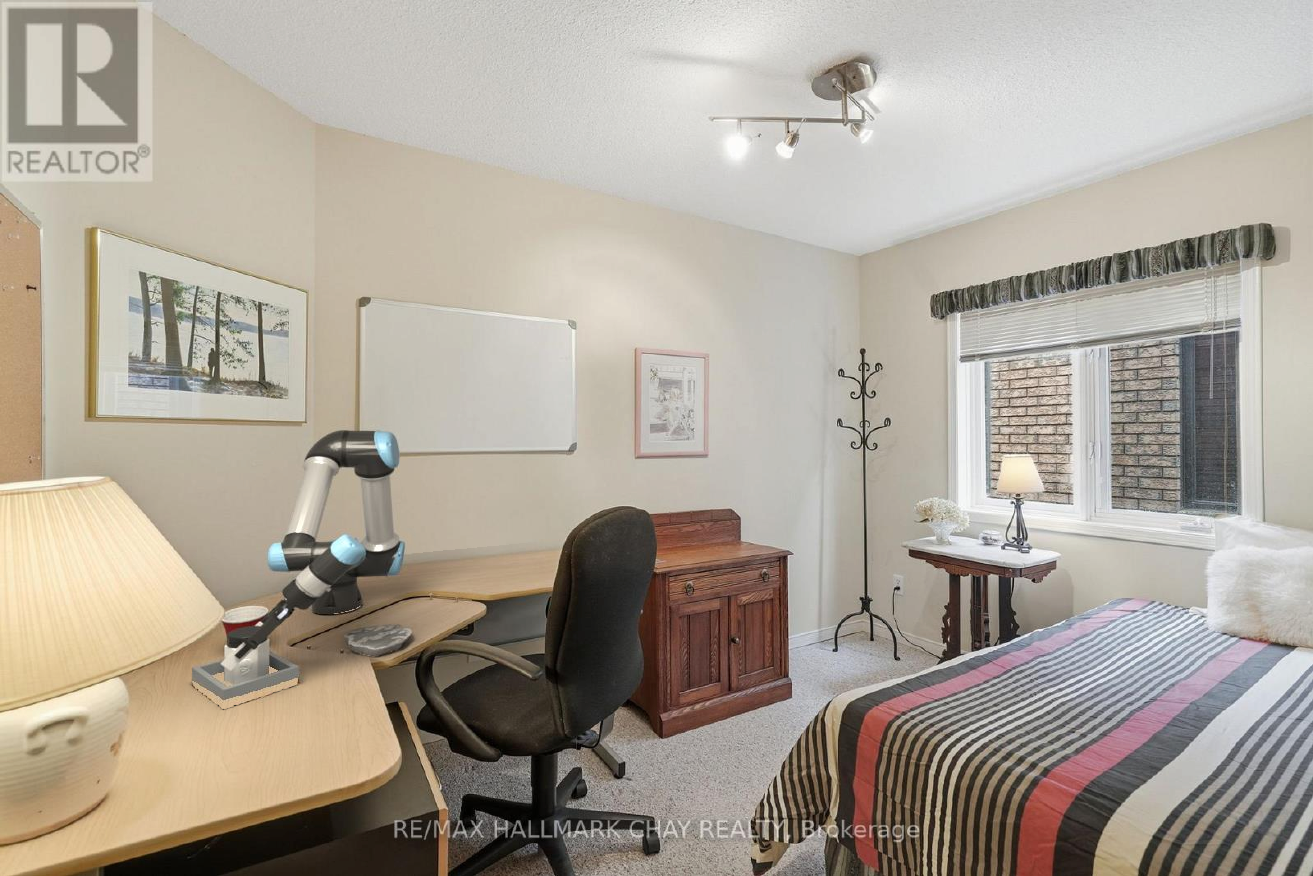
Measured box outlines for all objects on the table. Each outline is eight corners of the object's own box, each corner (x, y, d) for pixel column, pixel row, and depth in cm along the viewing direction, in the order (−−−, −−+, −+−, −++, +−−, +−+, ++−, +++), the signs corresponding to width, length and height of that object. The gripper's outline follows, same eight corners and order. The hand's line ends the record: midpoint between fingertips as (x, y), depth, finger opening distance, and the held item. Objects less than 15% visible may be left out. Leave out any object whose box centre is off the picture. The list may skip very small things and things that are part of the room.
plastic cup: (215, 666, 151) (215, 621, 151) (223, 651, 161) (223, 608, 161) (265, 659, 156) (265, 615, 156) (270, 645, 166) (270, 603, 166)
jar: (222, 691, 136) (222, 640, 136) (226, 677, 143) (226, 629, 143) (268, 683, 141) (268, 634, 141) (269, 670, 148) (270, 623, 148)
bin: (191, 686, 141) (191, 667, 140) (264, 664, 153) (264, 647, 153) (223, 710, 130) (223, 690, 130) (298, 685, 143) (298, 666, 142)
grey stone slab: (426, 644, 170) (426, 634, 170) (369, 664, 156) (370, 653, 156) (387, 629, 181) (387, 620, 181) (331, 646, 167) (331, 636, 167)
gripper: (310, 613, 135) (232, 687, 130) (326, 584, 158) (260, 645, 153) (283, 593, 133) (203, 666, 128) (303, 566, 156) (236, 628, 151)
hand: (234, 655), depth 140 cm, fingers open, 13 cm apart
